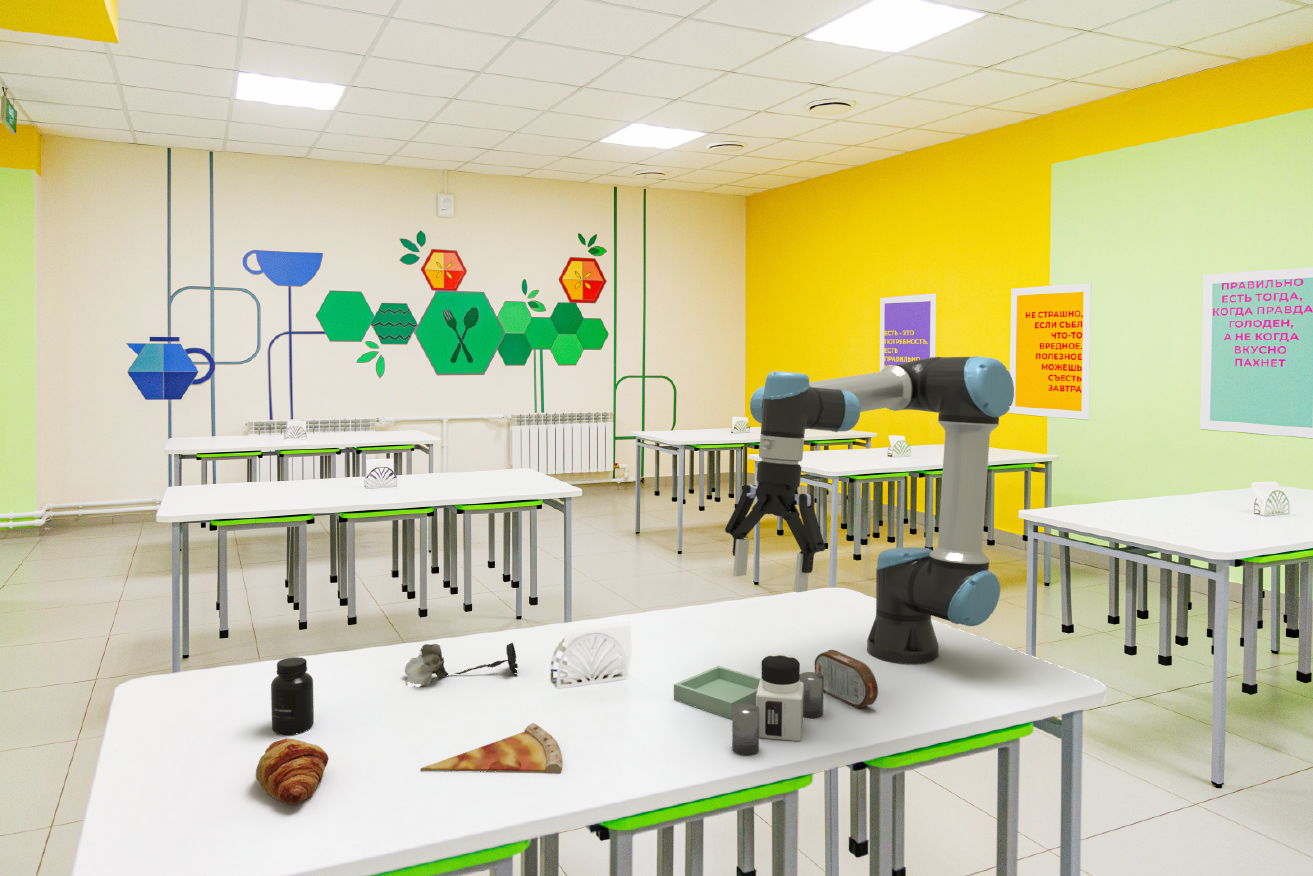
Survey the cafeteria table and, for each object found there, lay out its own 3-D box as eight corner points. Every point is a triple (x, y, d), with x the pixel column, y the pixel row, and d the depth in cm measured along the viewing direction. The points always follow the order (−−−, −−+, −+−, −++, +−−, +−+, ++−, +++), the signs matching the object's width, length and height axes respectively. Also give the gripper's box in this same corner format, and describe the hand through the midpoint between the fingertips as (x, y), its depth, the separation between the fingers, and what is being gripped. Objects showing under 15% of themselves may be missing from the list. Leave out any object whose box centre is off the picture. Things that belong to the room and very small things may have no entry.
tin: (878, 711, 162) (879, 666, 161) (865, 715, 160) (866, 670, 159) (823, 685, 175) (824, 644, 174) (811, 688, 173) (811, 646, 172)
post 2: (807, 707, 164) (807, 670, 163) (827, 713, 161) (828, 676, 160) (793, 714, 160) (794, 676, 160) (814, 720, 157) (815, 682, 157)
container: (801, 742, 149) (802, 667, 147) (755, 738, 150) (756, 664, 149) (803, 723, 156) (804, 652, 155) (759, 720, 158) (760, 649, 157)
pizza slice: (447, 731, 154) (447, 720, 154) (574, 733, 153) (573, 722, 153) (420, 773, 138) (420, 761, 138) (561, 776, 138) (561, 763, 138)
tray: (718, 680, 177) (718, 665, 177) (774, 697, 168) (774, 682, 168) (673, 699, 167) (673, 684, 167) (731, 719, 158) (731, 703, 158)
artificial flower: (520, 688, 177) (513, 646, 173) (406, 706, 174) (396, 664, 171) (519, 661, 185) (513, 621, 182) (410, 679, 183) (401, 638, 179)
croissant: (268, 778, 143) (241, 741, 141) (325, 739, 147) (299, 702, 145) (279, 838, 125) (248, 796, 122) (344, 792, 128) (315, 750, 126)
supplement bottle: (273, 739, 150) (270, 670, 149) (270, 724, 156) (268, 658, 155) (316, 731, 153) (314, 664, 152) (312, 717, 159) (309, 652, 158)
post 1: (742, 741, 149) (743, 701, 148) (764, 749, 146) (764, 708, 145) (726, 750, 146) (727, 709, 145) (748, 758, 143) (748, 716, 142)
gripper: (712, 454, 159) (702, 570, 160) (826, 469, 141) (814, 600, 142) (739, 455, 164) (730, 568, 165) (853, 469, 146) (841, 596, 147)
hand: (769, 583), depth 153 cm, fingers open, 13 cm apart
